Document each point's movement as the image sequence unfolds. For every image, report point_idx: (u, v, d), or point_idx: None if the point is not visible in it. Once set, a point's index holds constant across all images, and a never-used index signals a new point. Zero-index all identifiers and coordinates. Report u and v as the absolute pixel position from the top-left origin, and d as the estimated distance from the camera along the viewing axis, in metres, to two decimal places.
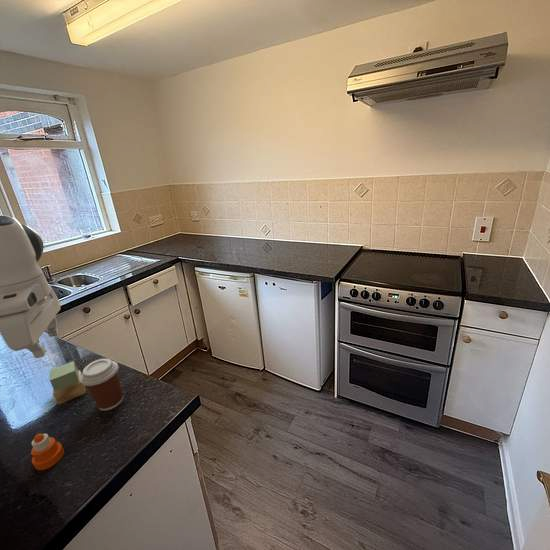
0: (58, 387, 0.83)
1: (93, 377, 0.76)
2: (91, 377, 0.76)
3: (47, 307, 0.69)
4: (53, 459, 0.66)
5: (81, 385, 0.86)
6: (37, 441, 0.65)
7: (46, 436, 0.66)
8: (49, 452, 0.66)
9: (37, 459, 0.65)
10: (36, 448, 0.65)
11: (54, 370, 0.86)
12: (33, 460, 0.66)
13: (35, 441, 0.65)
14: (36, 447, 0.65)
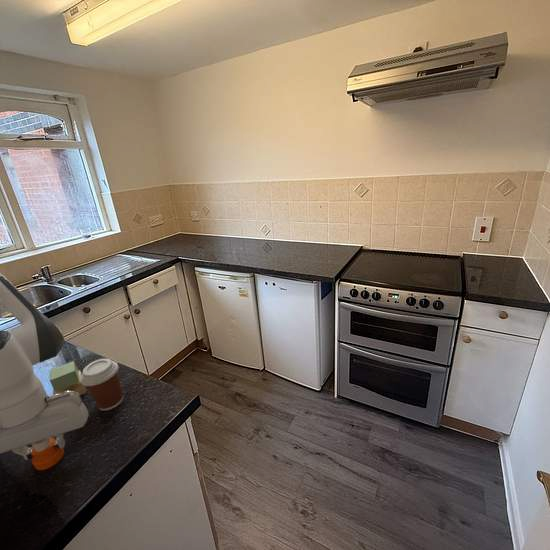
0: (58, 387, 0.83)
1: (93, 377, 0.76)
2: (91, 377, 0.76)
3: (42, 426, 0.63)
4: (53, 459, 0.66)
5: (81, 385, 0.86)
6: None
7: None
8: (49, 452, 0.66)
9: (37, 459, 0.65)
10: (36, 448, 0.65)
11: (54, 370, 0.86)
12: (33, 460, 0.66)
13: None
14: (36, 447, 0.65)
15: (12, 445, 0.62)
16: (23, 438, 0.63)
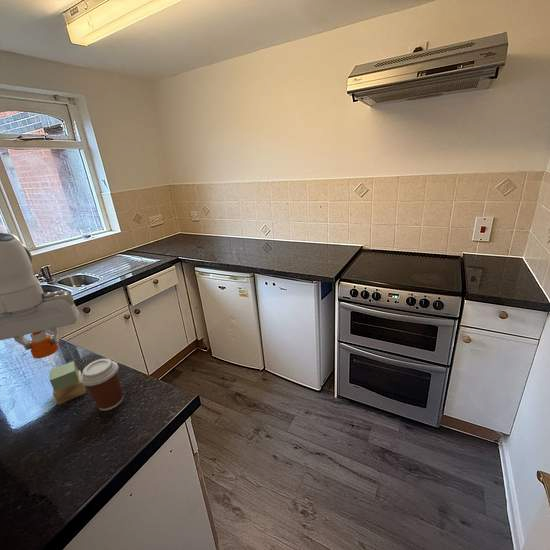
0: (58, 387, 0.83)
1: (93, 377, 0.76)
2: (91, 377, 0.76)
3: (39, 318, 0.75)
4: (49, 350, 0.77)
5: (81, 385, 0.86)
6: (35, 333, 0.76)
7: (43, 331, 0.78)
8: (45, 344, 0.77)
9: (35, 348, 0.76)
10: (34, 338, 0.76)
11: (54, 370, 0.86)
12: (32, 350, 0.77)
13: (33, 333, 0.76)
14: (34, 338, 0.76)
15: (14, 332, 0.74)
16: (23, 327, 0.74)
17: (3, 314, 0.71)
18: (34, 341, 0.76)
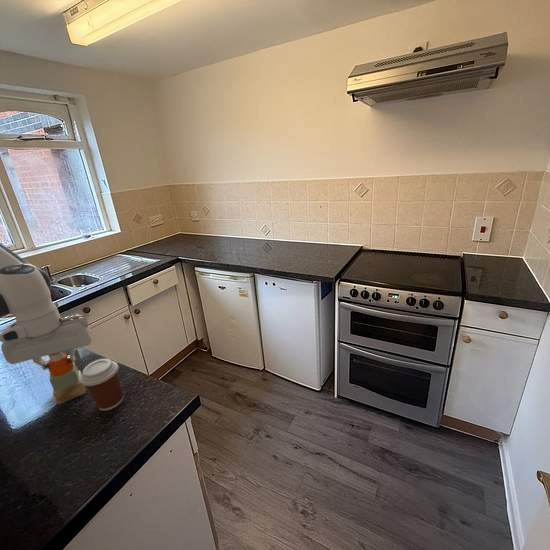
0: (58, 387, 0.83)
1: (93, 377, 0.76)
2: (91, 377, 0.76)
3: (57, 341, 0.81)
4: (65, 368, 0.84)
5: (81, 385, 0.86)
6: None
7: None
8: (62, 363, 0.83)
9: (53, 367, 0.83)
10: (52, 358, 0.82)
11: None
12: (50, 369, 0.83)
13: None
14: (52, 357, 0.82)
15: (34, 354, 0.80)
16: (43, 349, 0.81)
17: (25, 338, 0.77)
18: (52, 360, 0.83)
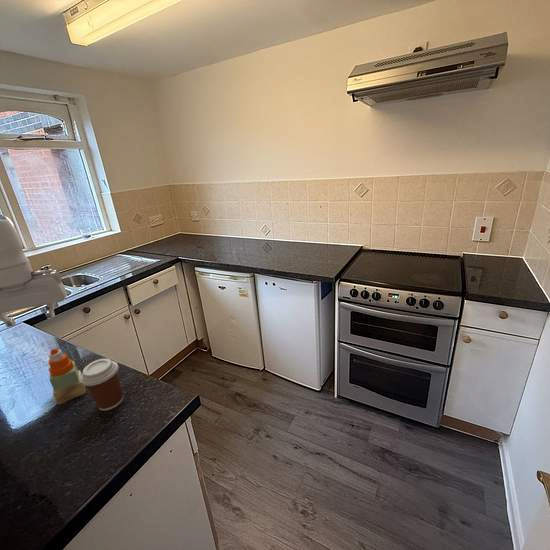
0: (58, 387, 0.83)
1: (93, 377, 0.76)
2: (91, 377, 0.76)
3: (28, 295, 0.79)
4: (65, 368, 0.84)
5: (81, 385, 0.86)
6: (53, 353, 0.83)
7: (60, 351, 0.84)
8: (62, 363, 0.83)
9: (53, 367, 0.83)
10: (52, 358, 0.82)
11: None
12: (50, 369, 0.83)
13: (51, 353, 0.83)
14: (52, 357, 0.82)
15: (4, 308, 0.78)
16: (13, 303, 0.79)
17: None
18: (52, 360, 0.83)
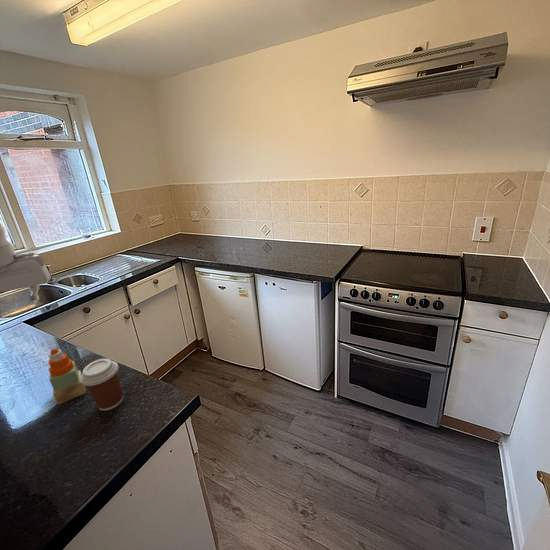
0: (58, 387, 0.83)
1: (93, 377, 0.76)
2: (91, 377, 0.76)
3: (12, 277, 0.81)
4: (65, 368, 0.84)
5: (81, 385, 0.86)
6: (53, 353, 0.83)
7: (60, 351, 0.84)
8: (62, 363, 0.83)
9: (53, 367, 0.83)
10: (52, 358, 0.82)
11: None
12: (50, 369, 0.83)
13: (51, 353, 0.83)
14: (52, 357, 0.82)
15: None
16: None
17: None
18: (52, 360, 0.83)
